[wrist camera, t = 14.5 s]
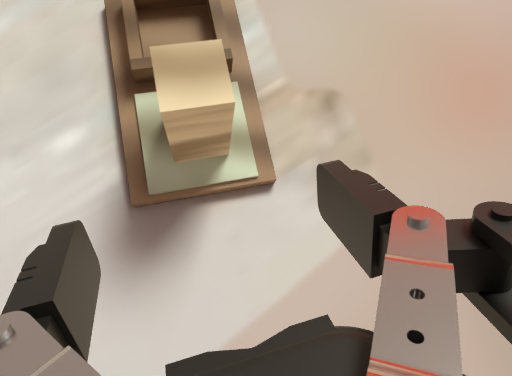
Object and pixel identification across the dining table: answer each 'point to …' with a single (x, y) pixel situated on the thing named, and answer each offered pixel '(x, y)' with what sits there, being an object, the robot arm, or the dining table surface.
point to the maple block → (194, 98)
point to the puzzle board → (147, 107)
